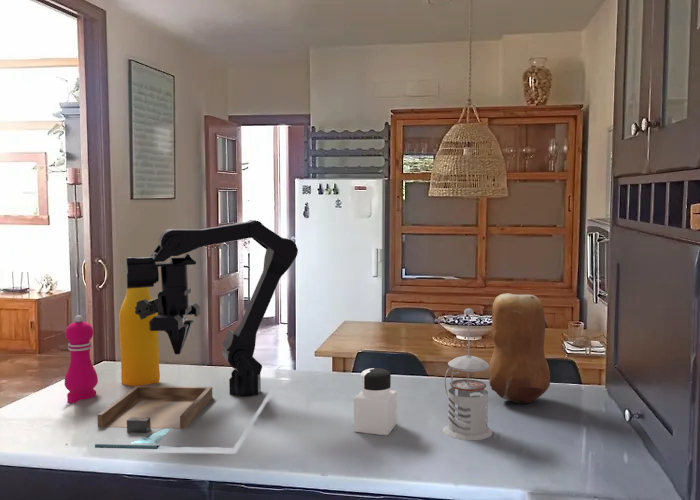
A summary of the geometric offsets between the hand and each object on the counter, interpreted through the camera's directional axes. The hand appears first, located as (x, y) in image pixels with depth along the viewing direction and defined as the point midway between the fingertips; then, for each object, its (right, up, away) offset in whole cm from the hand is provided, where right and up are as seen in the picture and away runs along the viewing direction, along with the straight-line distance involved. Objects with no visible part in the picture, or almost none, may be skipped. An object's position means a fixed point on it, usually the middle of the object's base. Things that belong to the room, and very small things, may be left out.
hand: (177, 354), depth 149 cm
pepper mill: (-24, -12, +5) cm, 27 cm away
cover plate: (-3, -14, -20) cm, 25 cm away
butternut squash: (+77, -11, +3) cm, 78 cm away
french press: (+62, -13, -15) cm, 65 cm away
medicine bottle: (+44, -13, -14) cm, 48 cm away
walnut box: (-3, -12, -6) cm, 14 cm away
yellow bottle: (-14, -11, +18) cm, 25 cm away
